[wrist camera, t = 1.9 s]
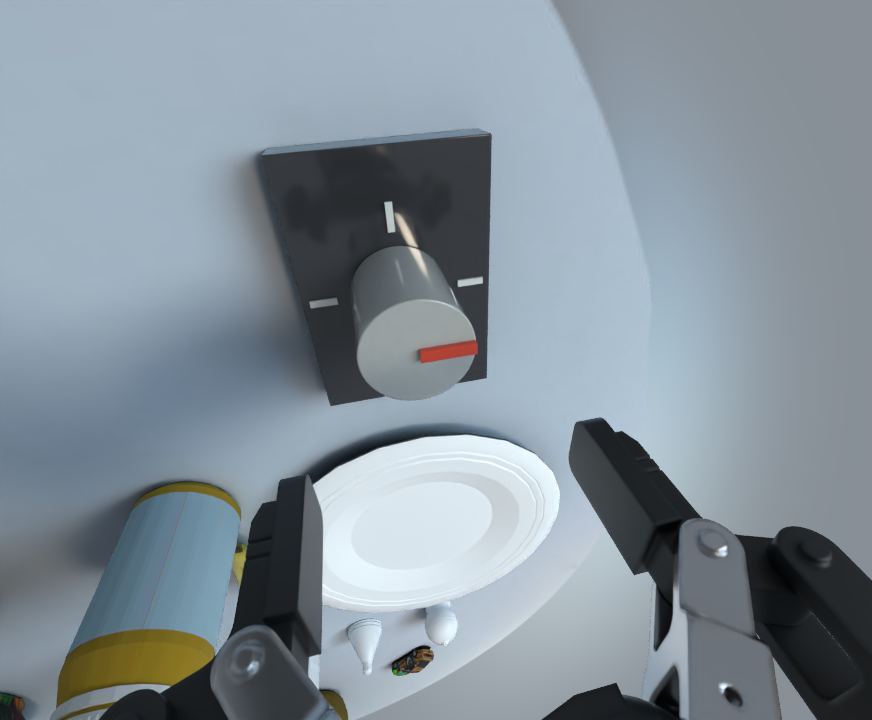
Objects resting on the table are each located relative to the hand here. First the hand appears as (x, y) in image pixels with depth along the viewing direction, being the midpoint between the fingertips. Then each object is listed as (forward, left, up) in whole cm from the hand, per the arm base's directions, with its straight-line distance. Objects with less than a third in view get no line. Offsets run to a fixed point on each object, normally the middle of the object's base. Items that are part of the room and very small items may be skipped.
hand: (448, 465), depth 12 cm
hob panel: (0, 0, -14) cm, 14 cm away
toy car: (+53, -4, -14) cm, 55 cm away
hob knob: (0, 0, -12) cm, 12 cm away
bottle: (+16, -17, -14) cm, 27 cm away
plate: (+24, 0, -14) cm, 28 cm away
